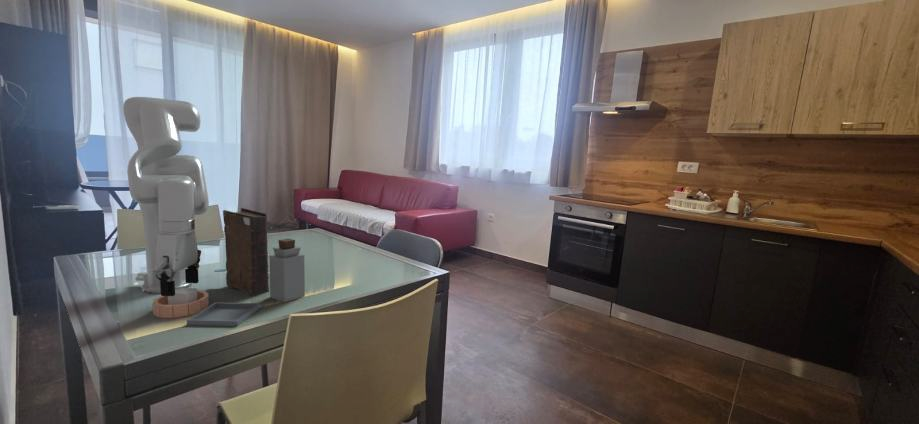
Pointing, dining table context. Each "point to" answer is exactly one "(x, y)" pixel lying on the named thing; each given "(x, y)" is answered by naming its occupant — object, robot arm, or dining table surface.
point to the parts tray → (224, 314)
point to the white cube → (183, 296)
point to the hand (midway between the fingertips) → (180, 288)
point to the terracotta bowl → (180, 306)
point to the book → (246, 251)
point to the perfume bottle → (287, 272)
